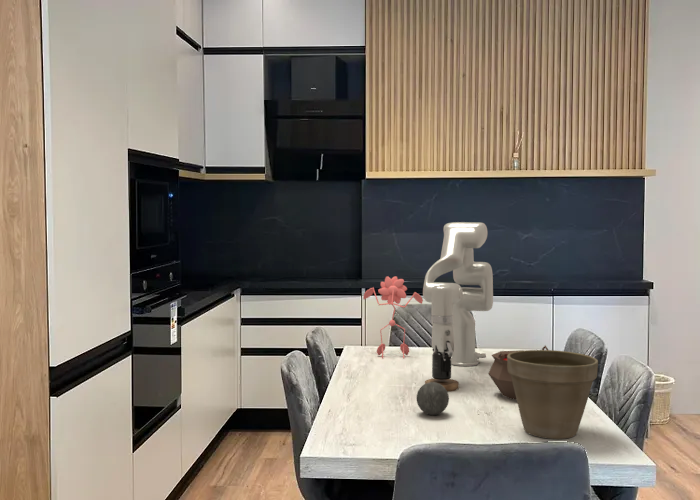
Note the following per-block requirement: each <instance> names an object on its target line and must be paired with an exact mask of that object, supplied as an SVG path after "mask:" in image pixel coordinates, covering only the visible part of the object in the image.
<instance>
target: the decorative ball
mask: <svg viewBox="0 0 700 500" xmlns="http://www.w3.org/2000/svg"><path fill="white" fill-rule="evenodd" d="M449 397H450V396H449V391H448V392H447V390H446V389H445V388H444V387H443V386H442V385H441V384H439V383H436V382H429V383H426V384H425V383H424V384H423V385H421V386H420V388H419V389H418V391H417V394H416V403H417V407H419V409H420V410H421V411H422V412H423V413H425V414H426V415H431V416H435V415H436V416H437V415H440V414H441V413H442V412H444V411H445V410H446V409H447V408H448V405H449V402H450V398H449Z"/></svg>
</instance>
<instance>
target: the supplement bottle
mask: <svg viewBox="0 0 700 500" xmlns="http://www.w3.org/2000/svg"><path fill="white" fill-rule="evenodd" d="M435 350H436V351H435V352H434V353H433V352H432V356H431V360H432V361H431V362H432V363H431V368H432V369H431V370H432V371H431V376H432V379H439V380H447V379H452V370H451V371H450V372H442V361H443V357H442V353H441V352H439V351H438V349H437V346H436V345H435ZM444 352H447V350H445V351H444ZM445 356H446V354H445Z"/></svg>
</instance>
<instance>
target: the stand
mask: <svg viewBox="0 0 700 500" xmlns="http://www.w3.org/2000/svg"><path fill="white" fill-rule="evenodd" d="M429 382H436V383H439V384H441V385H442V386H443V387H444V388H445V389H446V390H447V392H448V393H449V392H455V391H458V390H459V386H460V385H459V381H458V380H456V379H452V378H450V379H447V380H439V379H434V378H430V379H429V378H428V379H426V380H424V384H426V383H429Z"/></svg>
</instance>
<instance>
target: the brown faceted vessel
mask: <svg viewBox="0 0 700 500" xmlns="http://www.w3.org/2000/svg"><path fill="white" fill-rule="evenodd" d="M525 350H526V349H525ZM525 350H524V349H522V350H500V351H498V352H496V353H494V354H491V357H492V358H493V359H494V360H493V362H492V364H491V366H490V369H489V370H488V373H487V374H488V376H489V377H490V379H491V380H492V381H493V383H494V384H495V386H496V388H497V389H498V391H499V392H500V394H501V395H502V396H503V397H505V398H506V399H509V400H514V401H515V400H516V401H517V399H516V395H515V390H514V386H513V382H512V377H511V374H509V373H508V367H507V355H508V354H509V353H512V352H517V351H525ZM541 350H549V349H548V347H547V345H546V344H545V345H544V346H543V347H542V348H541Z"/></svg>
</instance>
